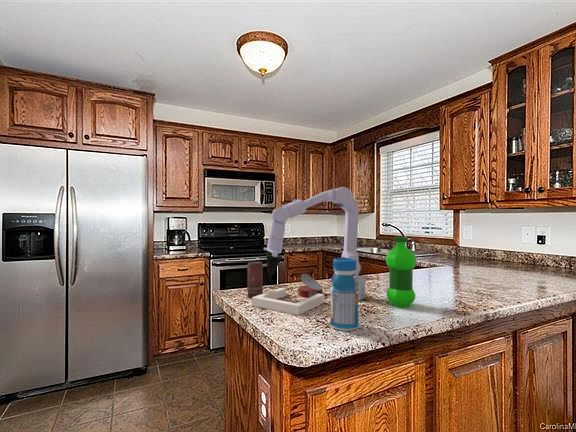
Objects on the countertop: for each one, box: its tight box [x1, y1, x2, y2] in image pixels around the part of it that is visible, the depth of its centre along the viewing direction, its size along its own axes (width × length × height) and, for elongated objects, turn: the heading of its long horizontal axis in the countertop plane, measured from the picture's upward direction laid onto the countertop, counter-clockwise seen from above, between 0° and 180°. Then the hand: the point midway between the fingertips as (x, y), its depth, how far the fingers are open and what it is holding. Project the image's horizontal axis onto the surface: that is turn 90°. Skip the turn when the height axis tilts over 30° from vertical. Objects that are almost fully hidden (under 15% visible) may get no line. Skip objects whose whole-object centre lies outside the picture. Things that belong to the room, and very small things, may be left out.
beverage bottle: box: [329, 257, 359, 332], centre depth 95 cm, size 8×8×20 cm
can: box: [247, 260, 264, 299], centre depth 130 cm, size 6×6×14 cm
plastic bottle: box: [385, 236, 417, 309], centre depth 117 cm, size 10×10×25 cm
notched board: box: [251, 287, 325, 316], centre depth 119 cm, size 20×18×3 cm
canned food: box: [298, 273, 323, 299], centre depth 133 cm, size 11×10×10 cm
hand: (270, 272), depth 125 cm, fingers open, 7 cm apart
